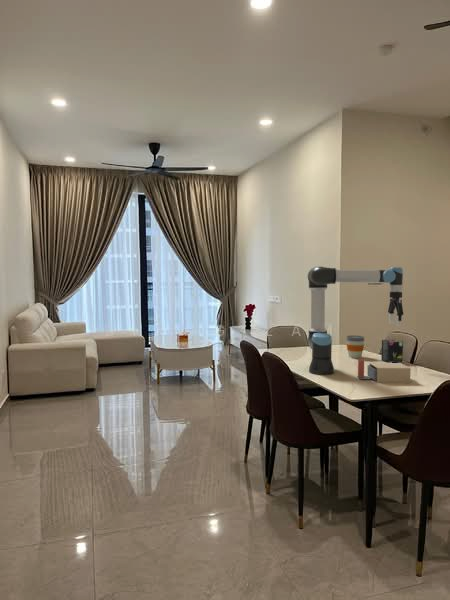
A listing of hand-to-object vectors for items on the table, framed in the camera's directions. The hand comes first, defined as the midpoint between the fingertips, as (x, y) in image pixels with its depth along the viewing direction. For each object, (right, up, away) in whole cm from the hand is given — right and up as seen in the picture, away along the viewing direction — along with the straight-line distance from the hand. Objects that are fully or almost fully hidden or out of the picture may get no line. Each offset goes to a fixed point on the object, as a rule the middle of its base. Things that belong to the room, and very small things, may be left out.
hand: (395, 324), depth 281 cm
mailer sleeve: (-15, -29, -29) cm, 44 cm away
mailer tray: (-20, -29, -29) cm, 45 cm away
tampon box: (+7, -27, +23) cm, 36 cm away
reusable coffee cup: (-14, -26, +40) cm, 49 cm away
